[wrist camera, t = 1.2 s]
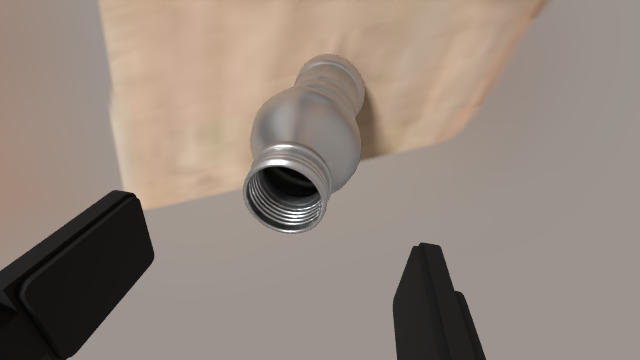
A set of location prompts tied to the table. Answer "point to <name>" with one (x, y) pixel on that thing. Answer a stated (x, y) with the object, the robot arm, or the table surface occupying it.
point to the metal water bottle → (305, 145)
